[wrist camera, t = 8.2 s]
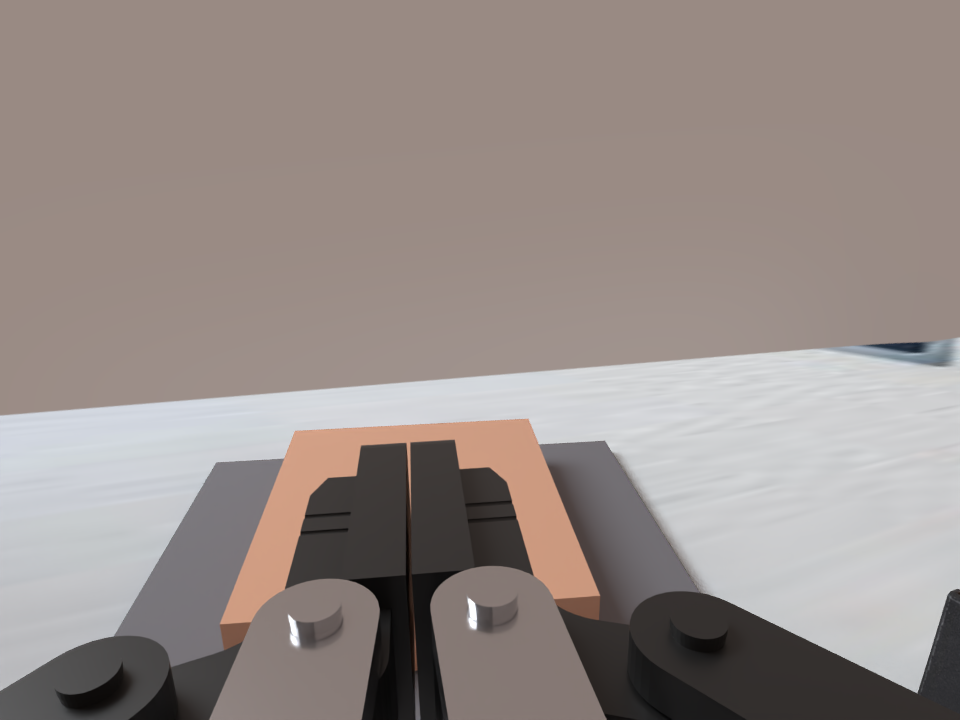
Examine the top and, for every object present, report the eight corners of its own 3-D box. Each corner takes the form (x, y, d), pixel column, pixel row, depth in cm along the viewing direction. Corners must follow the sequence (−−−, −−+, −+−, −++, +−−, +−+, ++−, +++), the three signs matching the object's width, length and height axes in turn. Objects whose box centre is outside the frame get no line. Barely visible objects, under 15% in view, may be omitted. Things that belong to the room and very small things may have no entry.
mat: (-15, 887, 14) (-22, 866, 14) (218, 474, 31) (216, 462, 31) (813, 800, 16) (817, 781, 15) (604, 452, 33) (604, 440, 32)
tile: (219, 624, 18) (295, 430, 29) (230, 690, 18) (299, 476, 30) (600, 595, 18) (528, 418, 30) (597, 659, 19) (527, 463, 30)
